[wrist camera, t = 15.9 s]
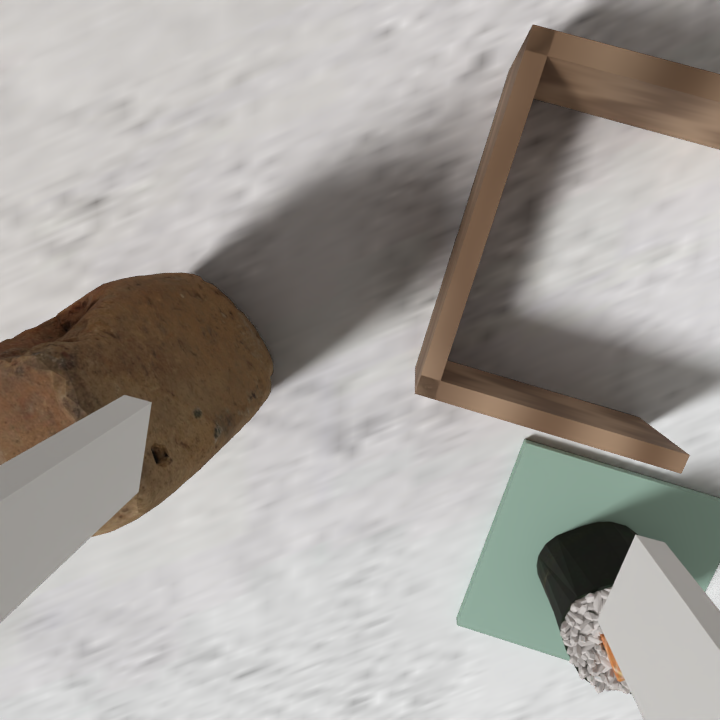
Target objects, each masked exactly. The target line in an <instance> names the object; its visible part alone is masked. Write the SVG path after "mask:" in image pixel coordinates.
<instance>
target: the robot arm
mask: <svg viewBox="0 0 720 720" xmlns="http://www.w3.org/2000/svg"><path fill="white" fill-rule="evenodd" d="M151 404H152V402H149V401H145V400H142V399H138V398H134V397H131V396H127V395H123V396H122V397H120V398H118V399H116V400H115V401H113V402H111V403H109V404H108V405H106V406H104V407H102V408H100V409H99V410H97V411H95V412H93V413H92V414H90V415H88V416H86V417H85V418H83V419H81V420H79V421H78V422H76V423H74V424H72V425H71V426H69V427H67V428H65V429H63V430H62V431H60V432H58V433H56V434H55V435H53V436H51V437H49V438H48V439H46V440H44V441H42V442H41V443H39V444H37V445H35V446H33V447H32V448H30V449H28V450H26V451H25V452H23V453H21V454H19V455H18V456H16V457H14V458H12V459H11V460H9V461H7V462H5V463H4V464H2V465H0V623H1V622H2V621H3V620H4V619H5V618H6V617H7V616H8V615H9V614H10V613H11V612H12V611H13V610H14V609H16V608H17V607H18V606H19V605H20V604H21V603H22V602H23V601H24V600H25V599H26V598H27V597H28V596H29V595H30V594H31V593H32V592H33V591H35V590H36V589H37V588H38V587H39V586H40V585H41V584H42V583H43V582H44V581H45V580H46V579H47V578H48V577H49V576H50V575H51V574H52V573H54V572H55V571H56V570H57V569H58V568H59V567H60V566H61V565H62V564H63V563H64V562H65V561H66V560H67V559H68V558H69V557H70V556H71V555H73V554H74V553H75V552H76V551H77V550H78V549H79V548H80V547H81V546H82V545H83V544H84V543H85V542H86V541H87V540H88V539H89V538H90V537H92V536H93V535H94V534H95V533H96V532H97V531H98V530H99V529H100V528H101V527H102V526H103V525H104V524H105V523H106V522H107V521H108V520H109V519H111V518H112V517H113V516H114V515H115V514H116V513H117V512H118V511H119V510H120V509H121V508H122V507H123V506H124V505H125V504H126V503H127V502H128V501H130V500H131V499H132V498H133V497H134V496H135V495H136V494H137V493H138V492H139V486H140V479H141V472H142V465H143V458H144V451H145V445H146V438H147V431H148V424H149V417H150V411H151ZM597 621H598V623H599V625H600V627H601V629H602V632H603V634H604V636H605V638H606V640H607V642H608V644H609V647H610V649H611V651H612V653H613V655H614V657H615V659H616V661H617V664H618V666H619V668H620V670H621V672H622V674H623V676H624V679H625V681H626V683H627V685H628V687H629V689H630V691H631V694H632V696H633V698H634V700H635V702H636V704H637V706H638V709H639V711H640V713H641V715H642V717H643V719H644V720H720V611H719V609H718V608H717V607H716V606H715V604H714V603H713V602H712V601H711V599H710V598H709V597H708V596H707V594H706V593H705V592H704V591H703V589H702V588H701V587H700V586H699V584H698V583H697V582H696V581H695V579H694V578H693V577H692V576H691V574H690V573H689V572H688V571H687V569H686V568H685V567H684V566H683V564H682V563H681V562H680V561H679V559H678V558H677V557H676V556H675V554H674V553H673V552H672V551H671V549H670V548H669V547H668V546H667V544H666V543H665V542H661V541H658V540H654V539H650V538H647V537H643V536H639V535H635V537H634V539H633V541H632V544H631V546H630V548H629V550H628V553H627V555H626V557H625V559H624V562H623V564H622V566H621V568H620V571H619V573H618V575H617V577H616V580H615V582H614V584H613V586H612V589H611V591H610V593H609V595H608V598H607V600H606V602H605V605H604V607H603V609H602V611H601V614H600V616H599V618H598V620H597Z"/></svg>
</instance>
